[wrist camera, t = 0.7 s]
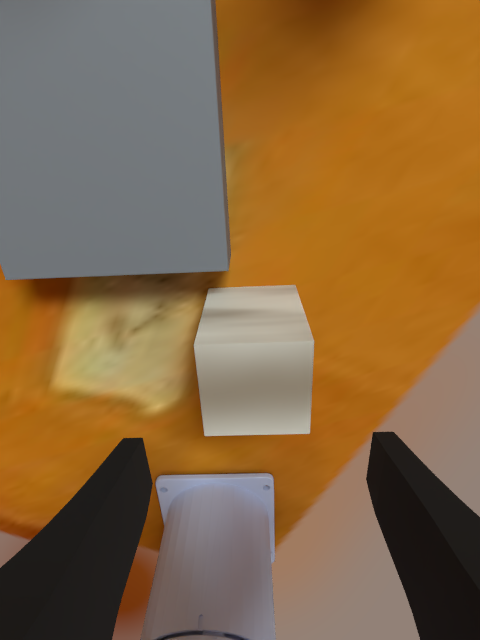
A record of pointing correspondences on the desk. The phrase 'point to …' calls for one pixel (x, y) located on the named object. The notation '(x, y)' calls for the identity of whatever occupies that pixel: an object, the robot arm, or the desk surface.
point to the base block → (111, 139)
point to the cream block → (254, 362)
